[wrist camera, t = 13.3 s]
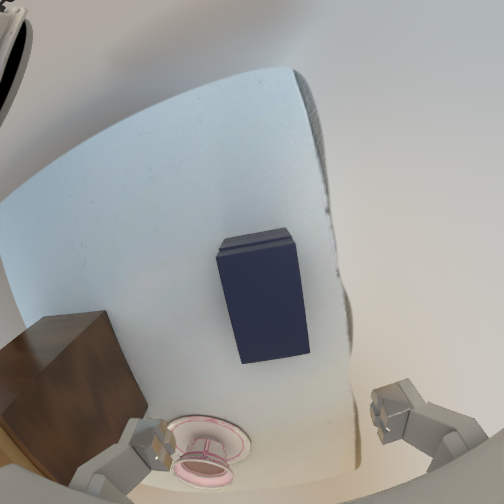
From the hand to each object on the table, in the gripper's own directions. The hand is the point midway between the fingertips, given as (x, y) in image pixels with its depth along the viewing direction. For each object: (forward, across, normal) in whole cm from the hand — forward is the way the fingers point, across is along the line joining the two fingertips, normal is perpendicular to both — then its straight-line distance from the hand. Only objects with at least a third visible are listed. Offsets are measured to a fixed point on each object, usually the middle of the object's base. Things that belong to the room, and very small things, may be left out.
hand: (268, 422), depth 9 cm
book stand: (+17, +23, +8) cm, 30 cm away
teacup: (+17, +12, +23) cm, 31 cm away
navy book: (+13, 0, +1) cm, 13 cm away
